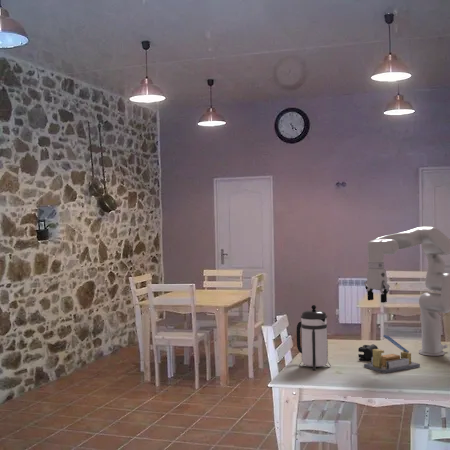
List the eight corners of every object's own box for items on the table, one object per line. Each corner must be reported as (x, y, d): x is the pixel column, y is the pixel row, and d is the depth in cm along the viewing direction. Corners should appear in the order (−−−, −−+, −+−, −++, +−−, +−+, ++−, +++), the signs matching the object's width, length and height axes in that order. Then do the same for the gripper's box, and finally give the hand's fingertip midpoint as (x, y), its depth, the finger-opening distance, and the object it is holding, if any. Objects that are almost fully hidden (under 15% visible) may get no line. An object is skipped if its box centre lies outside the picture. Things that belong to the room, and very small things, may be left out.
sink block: (398, 361, 308) (398, 342, 308) (419, 367, 296) (419, 347, 296) (364, 367, 298) (363, 348, 298) (384, 373, 286) (383, 353, 285)
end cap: (371, 362, 308) (371, 348, 308) (358, 360, 312) (357, 347, 312) (378, 357, 317) (378, 344, 317) (365, 356, 321) (365, 343, 321)
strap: (403, 352, 302) (404, 350, 303) (408, 353, 300) (409, 351, 300) (383, 336, 296) (384, 334, 296) (387, 337, 294) (388, 335, 294)
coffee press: (332, 363, 307) (331, 302, 306) (328, 371, 291) (327, 307, 291) (297, 362, 311) (296, 302, 311) (292, 369, 296) (290, 306, 295)
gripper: (394, 266, 295) (395, 302, 295) (370, 264, 310) (371, 298, 311) (381, 267, 292) (382, 304, 292) (358, 265, 307) (359, 299, 308)
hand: (377, 301), depth 301 cm, fingers open, 9 cm apart
